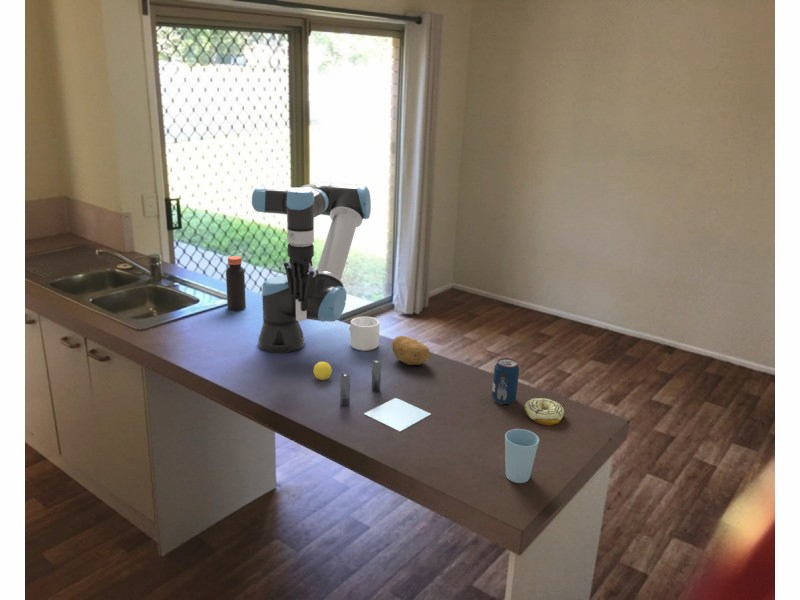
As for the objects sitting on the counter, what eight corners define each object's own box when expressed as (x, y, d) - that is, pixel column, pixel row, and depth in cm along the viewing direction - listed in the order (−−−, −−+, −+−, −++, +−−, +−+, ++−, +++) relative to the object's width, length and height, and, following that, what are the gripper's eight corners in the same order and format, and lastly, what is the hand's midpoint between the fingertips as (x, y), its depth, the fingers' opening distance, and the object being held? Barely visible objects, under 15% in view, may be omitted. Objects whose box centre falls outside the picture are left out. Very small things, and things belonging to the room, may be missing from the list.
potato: (416, 374, 201) (417, 351, 199) (384, 360, 211) (385, 337, 208) (437, 366, 208) (438, 342, 206) (405, 352, 217) (406, 330, 215)
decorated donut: (528, 426, 175) (529, 413, 174) (521, 407, 185) (522, 395, 184) (566, 427, 175) (568, 415, 174) (557, 408, 185) (559, 396, 184)
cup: (535, 487, 148) (540, 447, 145) (501, 484, 149) (505, 444, 146) (533, 469, 155) (537, 430, 152) (500, 465, 156) (504, 427, 153)
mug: (364, 336, 229) (365, 312, 226) (388, 344, 223) (389, 319, 221) (342, 346, 220) (343, 321, 217) (366, 354, 214) (367, 329, 211)
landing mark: (363, 414, 177) (363, 413, 177) (395, 398, 186) (395, 397, 186) (399, 431, 169) (400, 431, 169) (431, 414, 178) (431, 413, 178)
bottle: (236, 312, 246) (234, 261, 239) (223, 308, 249) (221, 257, 243) (249, 307, 251) (247, 257, 245) (237, 303, 255) (234, 254, 248)
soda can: (511, 394, 192) (515, 356, 188) (519, 405, 185) (523, 366, 181) (488, 395, 191) (492, 357, 187) (495, 406, 184) (499, 367, 180)
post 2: (369, 389, 191) (370, 361, 188) (375, 387, 192) (376, 359, 189) (376, 392, 189) (377, 364, 186) (382, 389, 191) (383, 361, 188)
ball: (309, 378, 196) (309, 362, 194) (323, 373, 200) (323, 356, 198) (322, 384, 192) (322, 367, 190) (335, 379, 196) (335, 362, 194)
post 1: (338, 404, 181) (338, 375, 178) (344, 401, 183) (345, 372, 180) (344, 407, 180) (345, 378, 177) (351, 404, 182) (352, 375, 179)
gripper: (275, 241, 190) (277, 316, 198) (306, 250, 182) (306, 328, 190) (295, 237, 195) (296, 311, 203) (325, 245, 187) (325, 322, 195)
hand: (301, 319), depth 196 cm, fingers closed
